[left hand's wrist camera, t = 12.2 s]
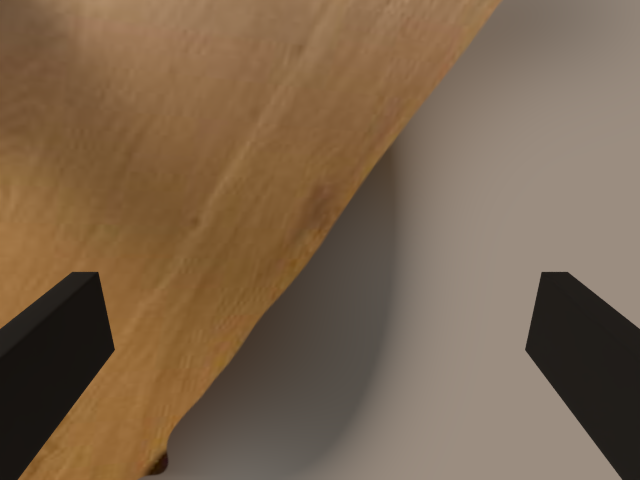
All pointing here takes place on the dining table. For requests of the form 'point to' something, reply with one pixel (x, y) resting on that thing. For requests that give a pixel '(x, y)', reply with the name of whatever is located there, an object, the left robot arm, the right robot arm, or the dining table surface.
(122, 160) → the dining table surface
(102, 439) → the dining table surface
